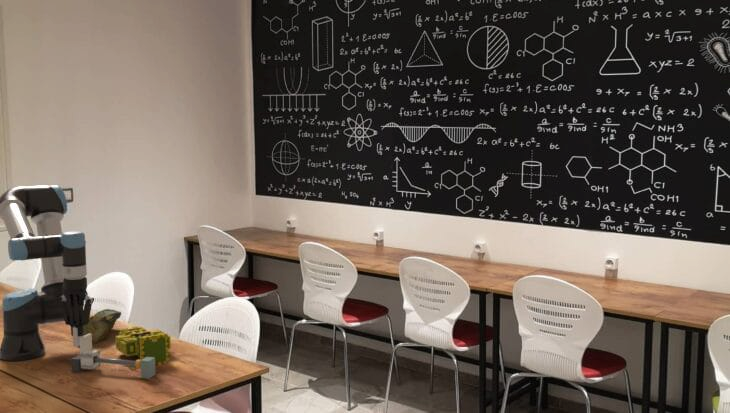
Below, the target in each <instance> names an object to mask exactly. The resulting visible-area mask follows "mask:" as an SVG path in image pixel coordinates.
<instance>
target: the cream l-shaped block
mask: <svg viewBox="0 0 730 413" xmlns="http://www.w3.org/2000/svg"><path fill="white" fill-rule="evenodd" d="M79 349H80V351H79V353H80V358H81V368H83V369H85V370H93V369H94V368H96V367H98V366H101V362H93V357H99V358H101V350H100V349H97V348H96V349H95V348H94V349H93V343H92V334H90V333H89V334H87V335H85V336H82V337H80V345H79Z"/></svg>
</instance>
